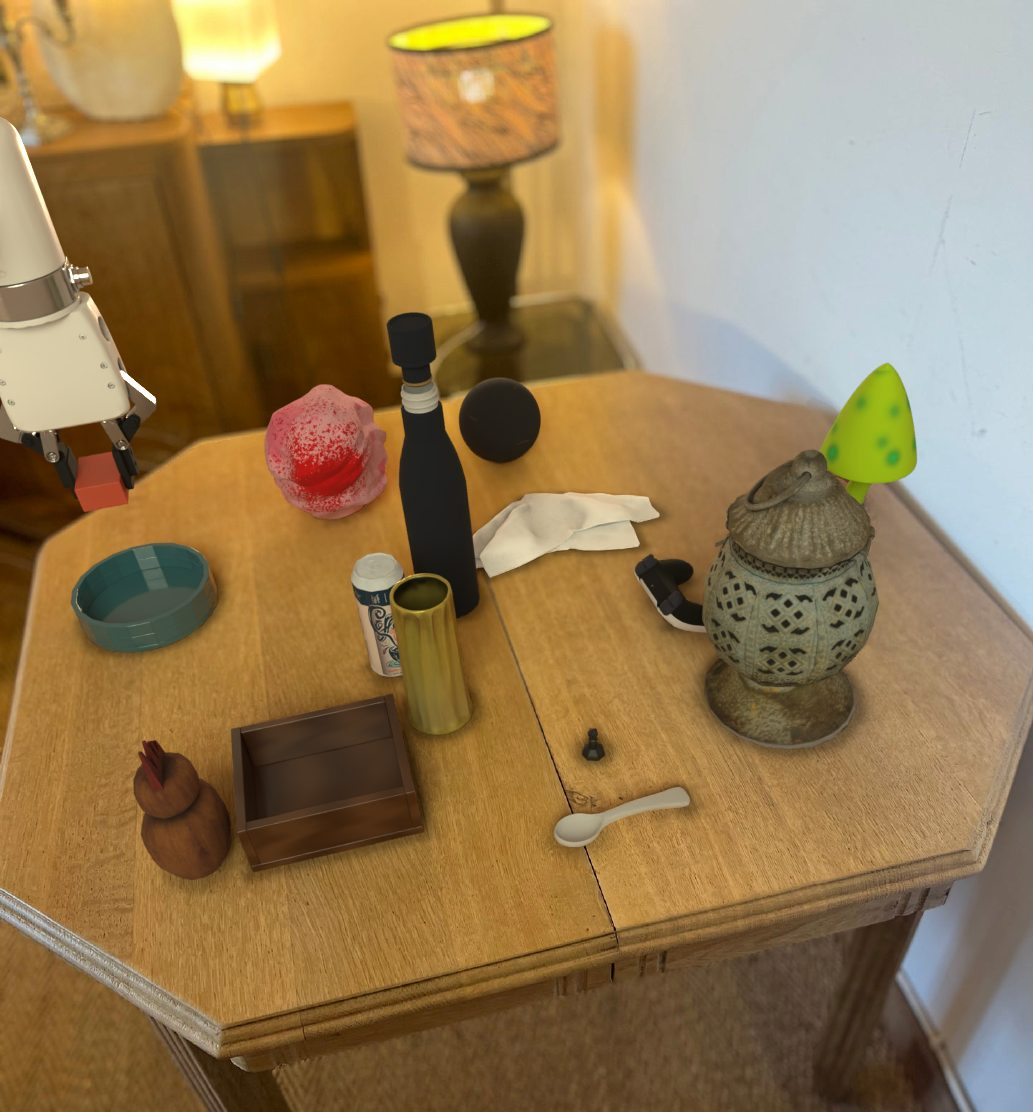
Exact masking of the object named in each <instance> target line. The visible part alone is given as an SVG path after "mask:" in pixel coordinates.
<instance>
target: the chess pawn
mask: <svg viewBox="0 0 1033 1112" xmlns="http://www.w3.org/2000/svg"><path fill="white" fill-rule="evenodd" d="M587 736H588V742H586V743H585V744H584V745H583V748H582V750H581V755H582V756H583V758H584V759H585V760H586V761H589V762H599V761H600V760H601V759H602V758H603V757H605V756H606V752H605V748H604V744H602V743H601V742H599V738H598V736H599V732H598V729H597V728H594V727H590V728H588V731H587Z"/></svg>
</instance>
